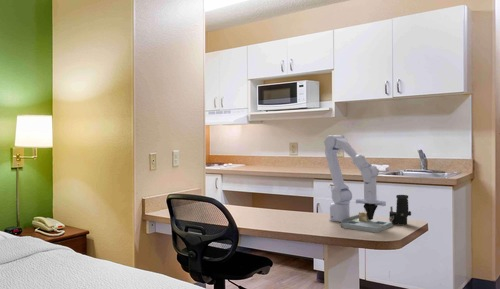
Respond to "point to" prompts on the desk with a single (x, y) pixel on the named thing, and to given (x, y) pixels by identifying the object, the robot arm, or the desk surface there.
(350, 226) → the board
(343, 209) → the robot arm
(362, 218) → the block
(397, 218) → the scope
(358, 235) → the desk surface
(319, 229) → the desk surface
